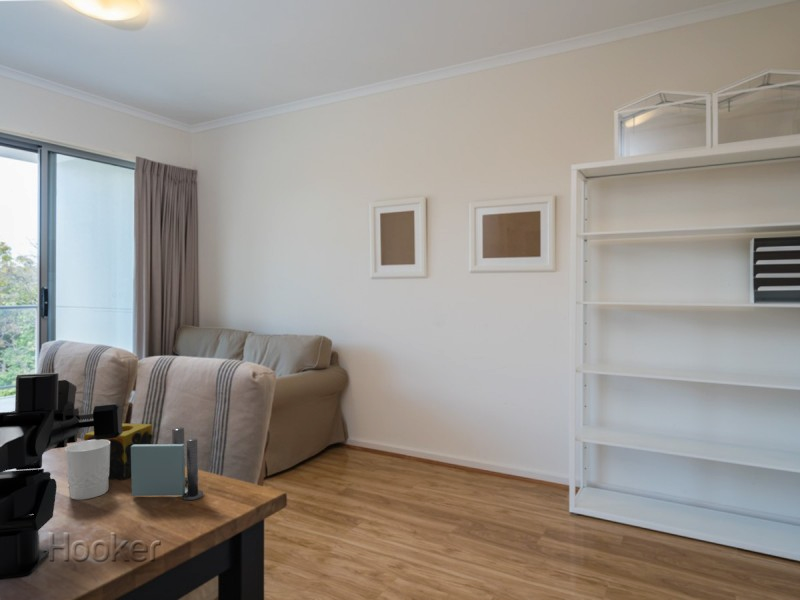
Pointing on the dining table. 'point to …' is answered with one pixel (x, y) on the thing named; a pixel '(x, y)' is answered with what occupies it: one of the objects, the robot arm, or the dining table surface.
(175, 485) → the gate
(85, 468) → the white cup
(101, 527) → the dining table surface
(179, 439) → the post
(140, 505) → the dining table surface
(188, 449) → the hinge post
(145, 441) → the holed cube box
